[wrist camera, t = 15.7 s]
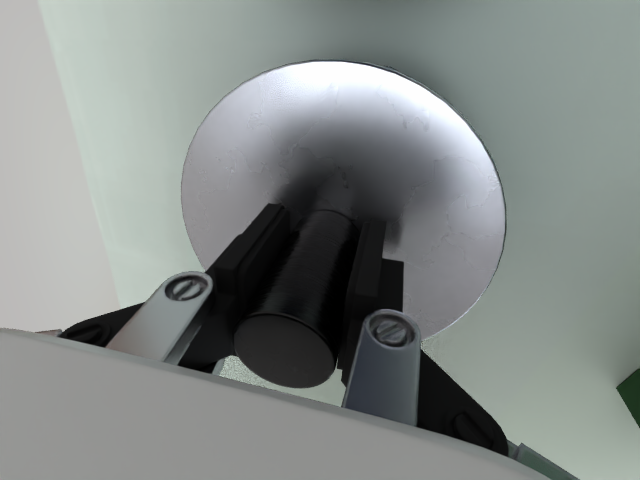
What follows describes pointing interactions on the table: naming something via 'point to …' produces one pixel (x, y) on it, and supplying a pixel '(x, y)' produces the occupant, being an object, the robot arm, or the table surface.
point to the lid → (342, 203)
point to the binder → (632, 394)
